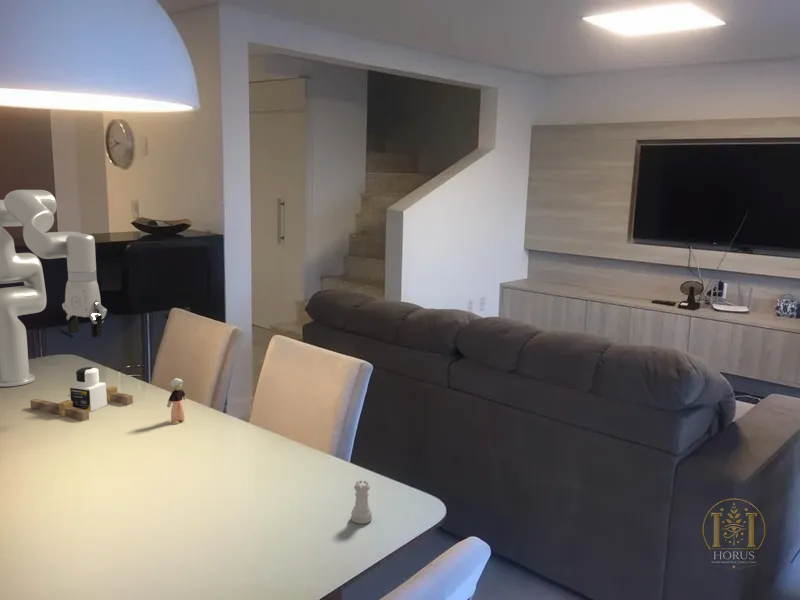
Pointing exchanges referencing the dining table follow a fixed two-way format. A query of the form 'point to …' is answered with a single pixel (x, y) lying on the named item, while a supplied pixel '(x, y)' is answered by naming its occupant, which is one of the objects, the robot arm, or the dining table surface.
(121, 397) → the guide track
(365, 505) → the rook chess piece
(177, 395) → the grandmother figurine
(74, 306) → the robot arm
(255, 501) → the dining table surface
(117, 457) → the dining table surface
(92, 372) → the medicine bottle
